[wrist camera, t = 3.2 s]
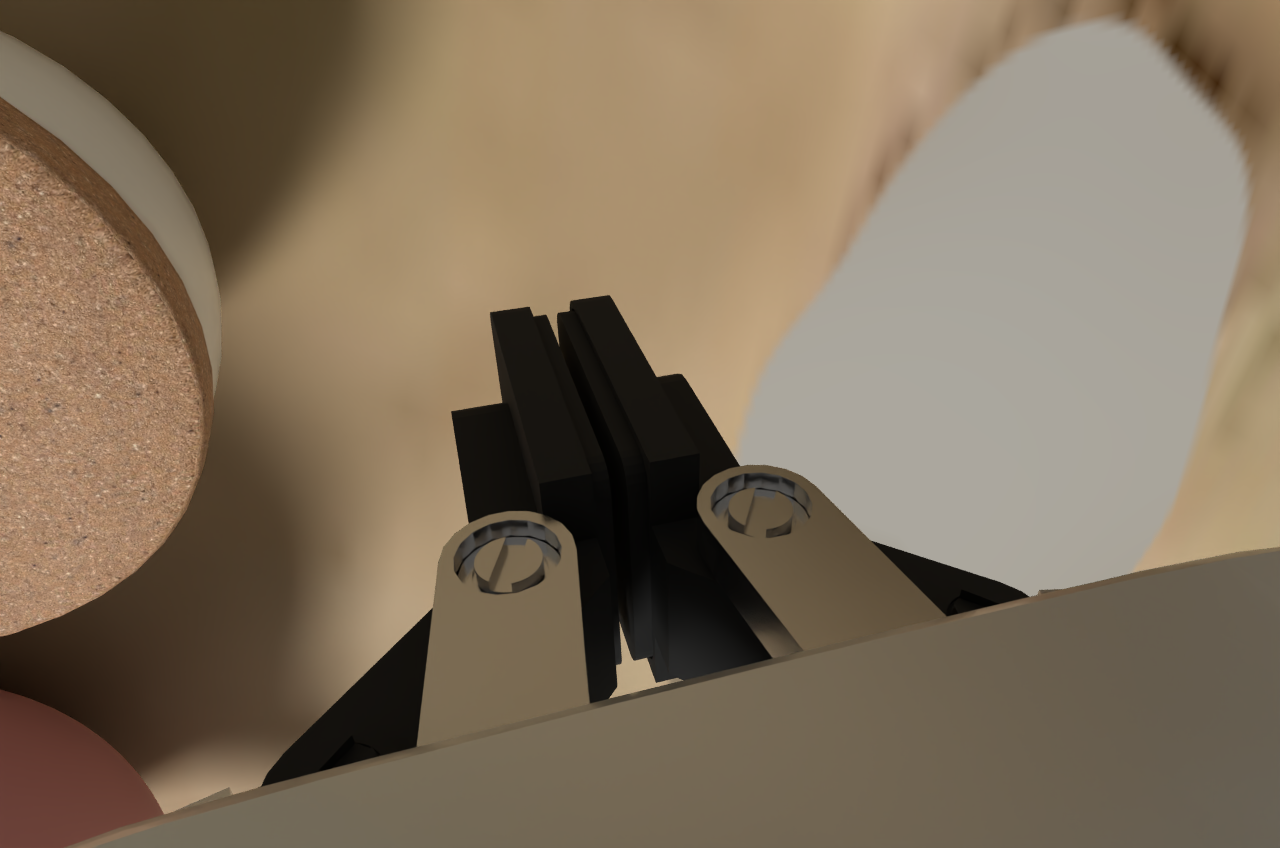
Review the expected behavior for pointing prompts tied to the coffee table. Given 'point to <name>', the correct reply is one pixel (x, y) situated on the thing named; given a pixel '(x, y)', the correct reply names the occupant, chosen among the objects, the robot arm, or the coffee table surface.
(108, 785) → the balloon
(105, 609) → the coffee table surface
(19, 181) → the lidded jar
